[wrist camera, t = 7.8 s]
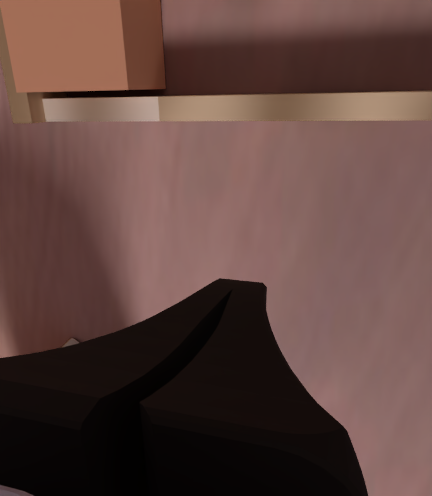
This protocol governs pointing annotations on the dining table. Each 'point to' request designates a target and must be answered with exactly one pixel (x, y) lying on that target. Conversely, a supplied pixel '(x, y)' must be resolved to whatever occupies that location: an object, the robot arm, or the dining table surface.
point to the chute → (212, 104)
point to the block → (84, 44)
